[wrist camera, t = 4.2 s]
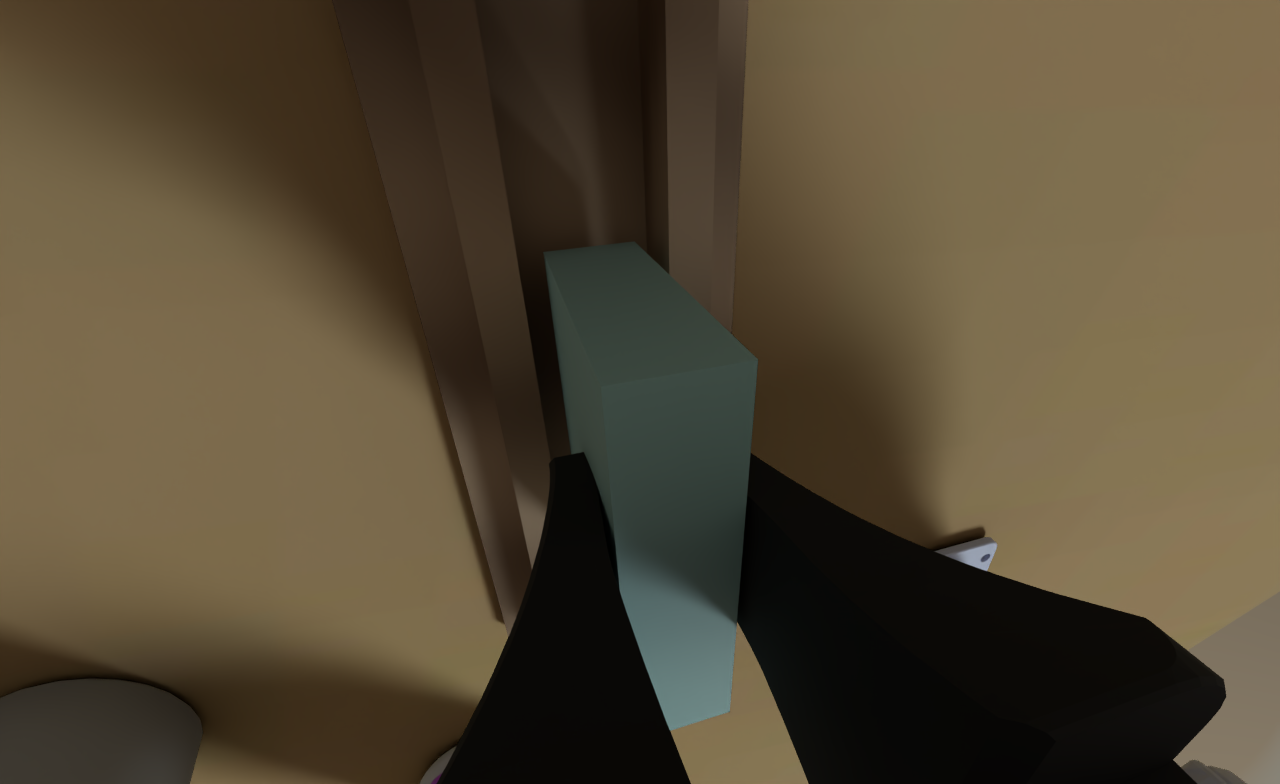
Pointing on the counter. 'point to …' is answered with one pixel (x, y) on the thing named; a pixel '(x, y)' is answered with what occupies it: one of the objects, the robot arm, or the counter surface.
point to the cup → (97, 734)
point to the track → (542, 198)
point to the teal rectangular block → (660, 458)
